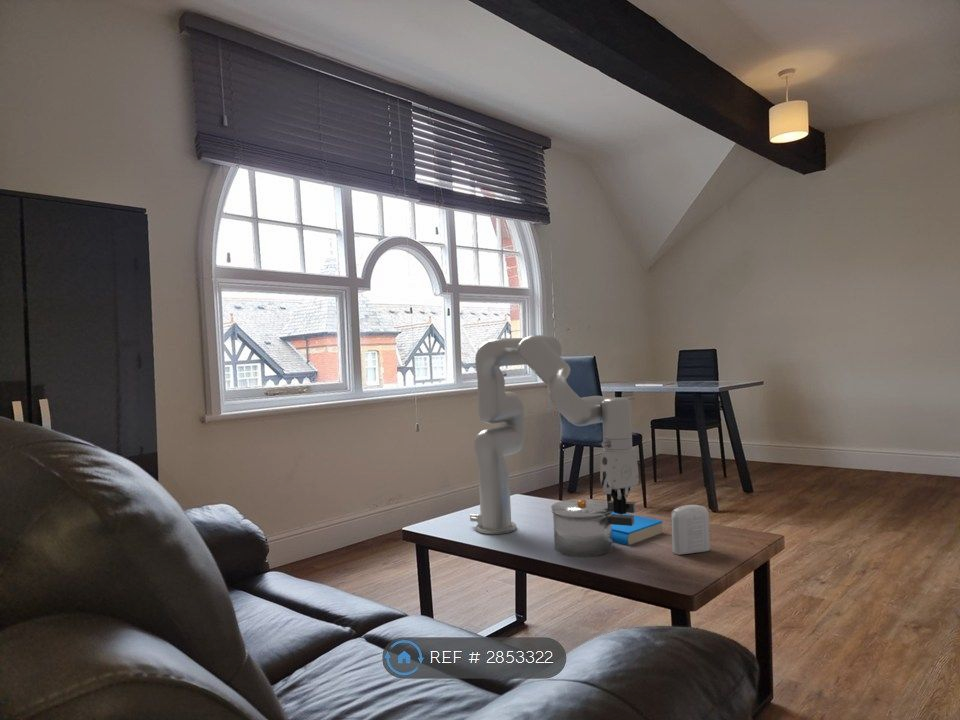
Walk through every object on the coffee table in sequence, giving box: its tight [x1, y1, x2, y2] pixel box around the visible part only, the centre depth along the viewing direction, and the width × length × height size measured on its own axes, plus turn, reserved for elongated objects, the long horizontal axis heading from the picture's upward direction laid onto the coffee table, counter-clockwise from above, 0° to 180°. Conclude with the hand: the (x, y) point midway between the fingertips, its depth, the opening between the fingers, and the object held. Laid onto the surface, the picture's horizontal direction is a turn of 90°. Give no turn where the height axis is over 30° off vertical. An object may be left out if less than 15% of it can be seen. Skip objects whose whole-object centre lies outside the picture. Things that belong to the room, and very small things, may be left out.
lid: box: [551, 498, 637, 519], centre depth 176 cm, size 23×17×3 cm
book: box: [612, 512, 663, 546], centre depth 192 cm, size 17×4×25 cm
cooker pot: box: [552, 513, 634, 558], centre depth 176 cm, size 22×16×10 cm
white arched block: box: [670, 504, 711, 556], centre depth 170 cm, size 10×4×12 cm, turn 106°
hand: (619, 512), depth 170 cm, fingers closed
